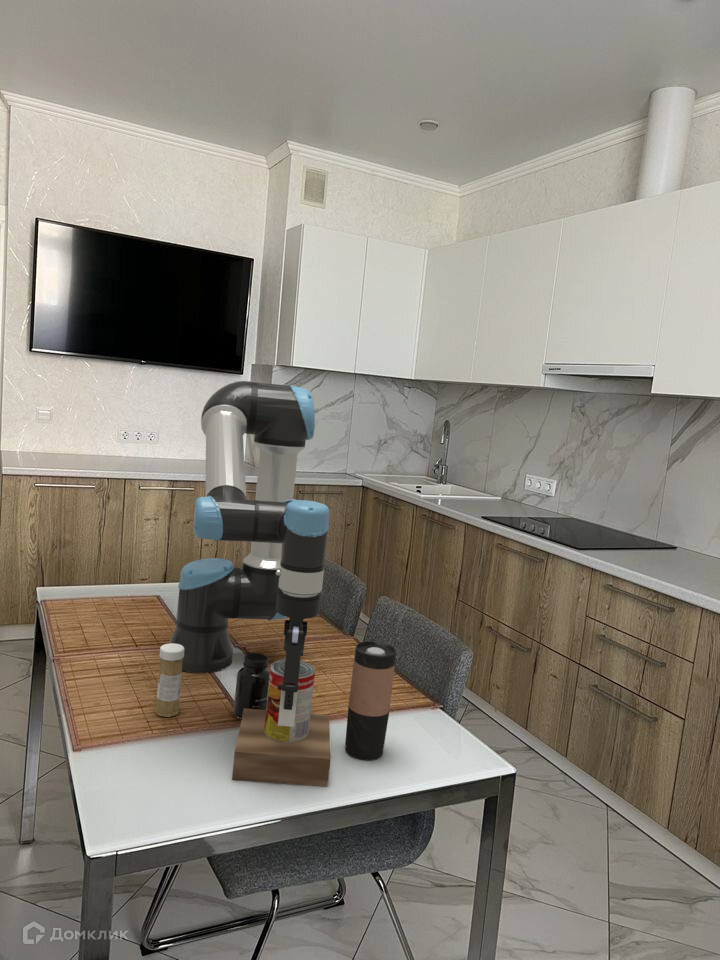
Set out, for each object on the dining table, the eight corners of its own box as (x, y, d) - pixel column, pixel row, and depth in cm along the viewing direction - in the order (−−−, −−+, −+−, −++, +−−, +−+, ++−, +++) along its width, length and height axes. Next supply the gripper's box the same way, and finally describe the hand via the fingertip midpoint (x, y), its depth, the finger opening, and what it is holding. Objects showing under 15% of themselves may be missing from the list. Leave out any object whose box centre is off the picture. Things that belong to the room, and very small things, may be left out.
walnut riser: (241, 733, 139) (243, 708, 139) (326, 739, 141) (329, 715, 140) (232, 779, 124) (234, 751, 123) (327, 786, 125) (330, 758, 124)
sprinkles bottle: (161, 705, 147) (166, 640, 145) (183, 710, 146) (188, 644, 144) (150, 715, 142) (155, 648, 141) (172, 720, 142) (178, 653, 140)
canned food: (281, 717, 137) (288, 655, 135) (316, 731, 133) (323, 668, 131) (254, 732, 130) (261, 667, 129) (291, 748, 126) (298, 681, 125)
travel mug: (354, 764, 133) (367, 658, 130) (336, 743, 140) (348, 642, 137) (391, 758, 137) (404, 654, 134) (372, 738, 143) (384, 639, 141)
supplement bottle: (261, 725, 144) (266, 666, 142) (227, 718, 145) (233, 660, 143) (272, 710, 150) (278, 654, 149) (240, 704, 151) (245, 648, 150)
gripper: (281, 569, 140) (270, 676, 143) (273, 612, 115) (261, 740, 118) (320, 573, 141) (309, 679, 143) (321, 616, 116) (307, 743, 119)
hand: (287, 707), depth 131 cm, fingers open, 13 cm apart
